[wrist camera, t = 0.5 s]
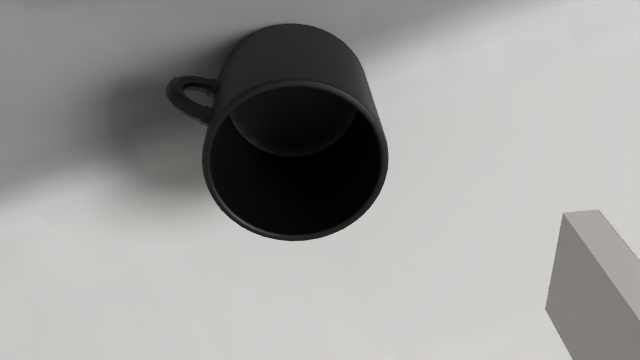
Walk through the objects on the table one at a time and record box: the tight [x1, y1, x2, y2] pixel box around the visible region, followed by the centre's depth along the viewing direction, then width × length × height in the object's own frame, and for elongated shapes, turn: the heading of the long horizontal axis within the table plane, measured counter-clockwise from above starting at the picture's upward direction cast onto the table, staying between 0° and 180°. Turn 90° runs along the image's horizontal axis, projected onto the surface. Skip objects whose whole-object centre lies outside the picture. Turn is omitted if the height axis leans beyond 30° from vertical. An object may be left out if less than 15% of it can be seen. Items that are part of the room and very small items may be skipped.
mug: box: [166, 24, 388, 241], centre depth 34 cm, size 9×12×9 cm
